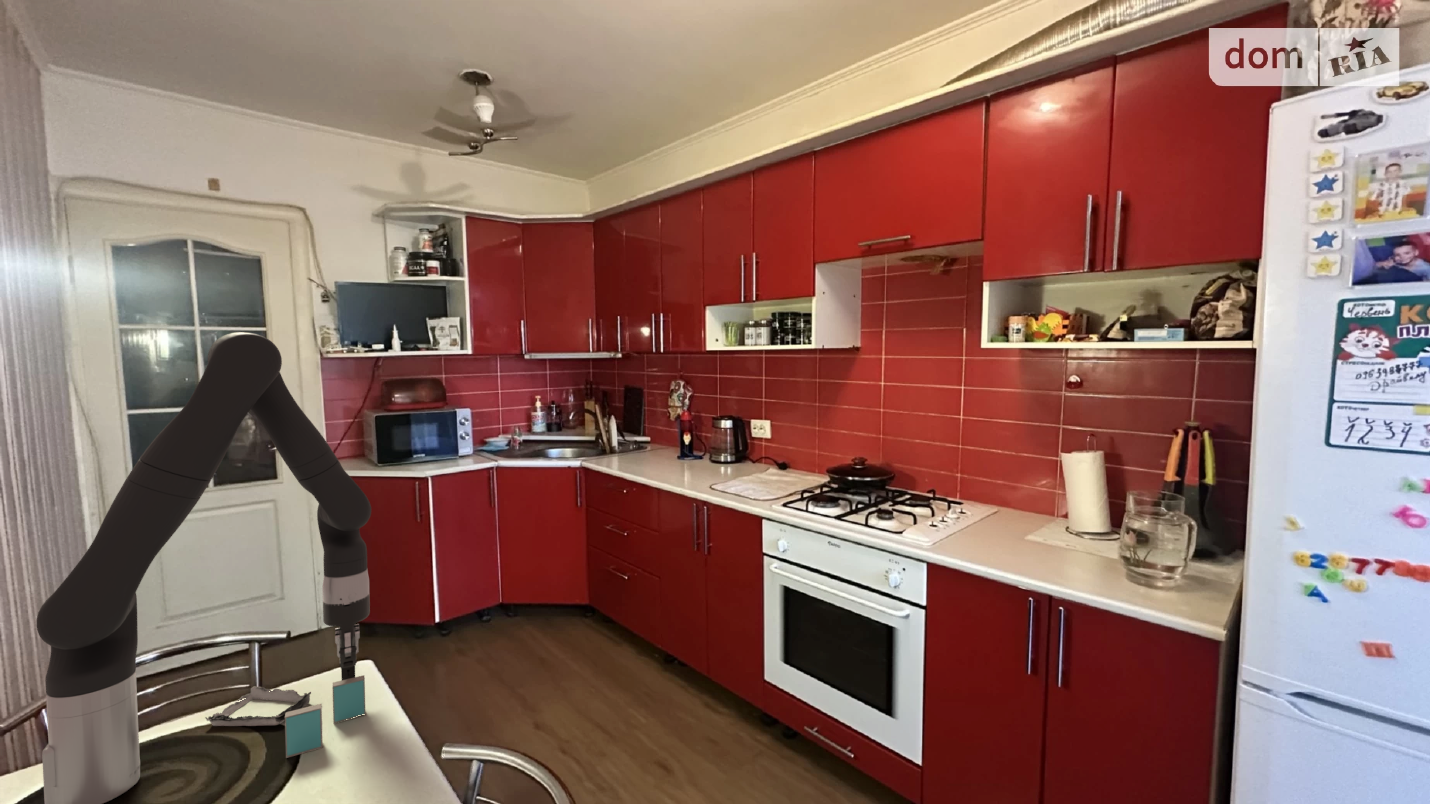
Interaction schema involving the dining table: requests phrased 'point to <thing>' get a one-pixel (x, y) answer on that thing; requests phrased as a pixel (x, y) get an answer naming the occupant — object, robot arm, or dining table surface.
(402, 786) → the dining table surface
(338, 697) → the beige rectangular block
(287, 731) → the beige flat slab
